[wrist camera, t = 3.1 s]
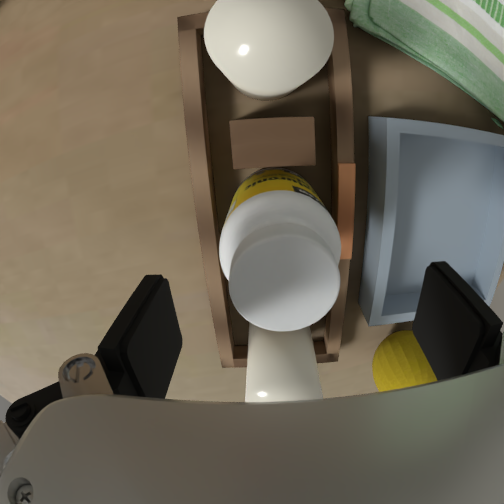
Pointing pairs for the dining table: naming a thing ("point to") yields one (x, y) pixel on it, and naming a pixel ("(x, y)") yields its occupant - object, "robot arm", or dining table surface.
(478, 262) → the tray
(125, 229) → the dining table surface
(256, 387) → the cartridge
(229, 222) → the supplement bottle
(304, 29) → the cylinder
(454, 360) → the robot arm
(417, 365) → the lemon
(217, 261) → the clip rack
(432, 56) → the dish towel
